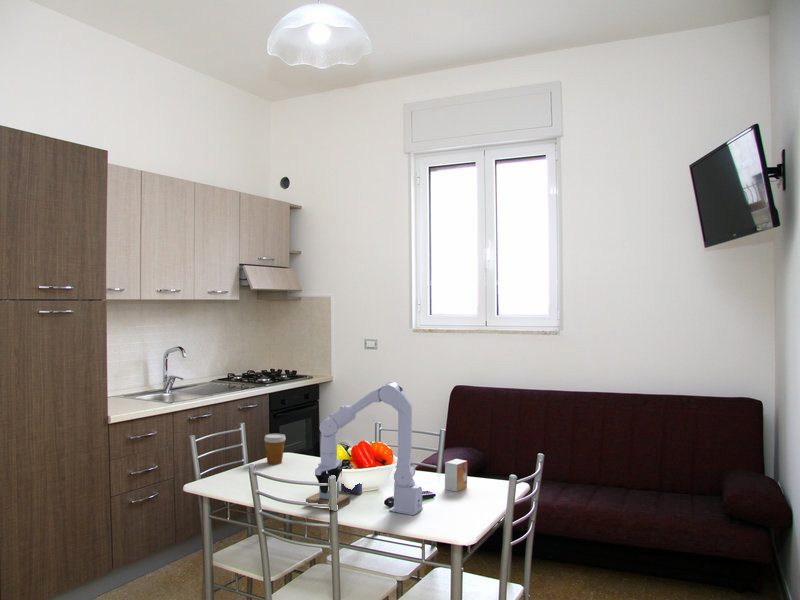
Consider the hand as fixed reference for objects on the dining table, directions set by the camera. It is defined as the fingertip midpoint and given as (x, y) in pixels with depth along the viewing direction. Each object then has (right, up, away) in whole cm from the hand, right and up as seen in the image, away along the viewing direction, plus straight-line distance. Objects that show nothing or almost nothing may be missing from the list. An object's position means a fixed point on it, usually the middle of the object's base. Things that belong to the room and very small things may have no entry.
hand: (328, 490), depth 217 cm
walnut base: (0, -5, 0) cm, 5 cm away
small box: (+47, -6, +22) cm, 52 cm away
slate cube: (0, -2, 0) cm, 2 cm away
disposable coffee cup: (-30, -5, +55) cm, 63 cm away
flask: (+7, -5, +14) cm, 17 cm away
